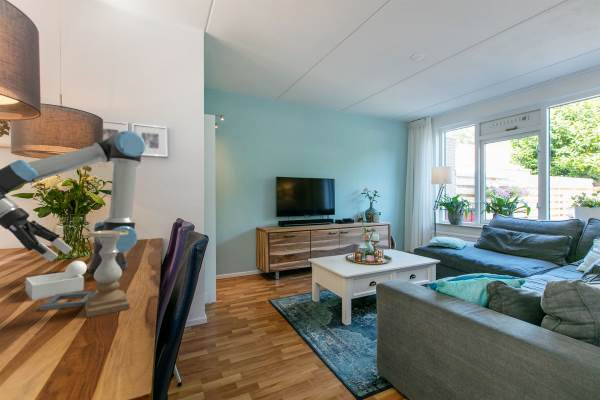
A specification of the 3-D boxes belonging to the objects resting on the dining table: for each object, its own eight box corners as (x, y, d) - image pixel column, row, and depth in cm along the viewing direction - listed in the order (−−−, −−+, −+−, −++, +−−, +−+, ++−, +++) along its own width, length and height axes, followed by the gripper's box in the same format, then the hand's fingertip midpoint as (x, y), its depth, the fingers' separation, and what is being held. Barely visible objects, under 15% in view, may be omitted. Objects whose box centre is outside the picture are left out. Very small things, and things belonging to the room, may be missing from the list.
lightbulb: (50, 283, 96) (80, 259, 102) (46, 279, 100) (75, 256, 106) (65, 293, 99) (92, 268, 105) (61, 289, 103) (88, 266, 109)
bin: (73, 283, 108) (73, 270, 108) (83, 290, 100) (83, 277, 100) (25, 291, 98) (25, 277, 98) (32, 300, 89) (32, 285, 89)
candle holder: (84, 306, 86) (86, 231, 86) (125, 298, 93) (127, 229, 93) (85, 318, 77) (88, 234, 77) (130, 308, 84) (132, 232, 84)
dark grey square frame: (55, 298, 92) (55, 294, 92) (96, 293, 97) (96, 290, 97) (39, 310, 82) (39, 306, 82) (86, 305, 86) (86, 301, 86)
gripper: (17, 219, 104) (66, 256, 110) (-28, 225, 81) (36, 271, 87) (36, 205, 106) (82, 242, 112) (-4, 207, 83) (57, 253, 89)
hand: (62, 255), depth 100 cm, fingers open, 13 cm apart
